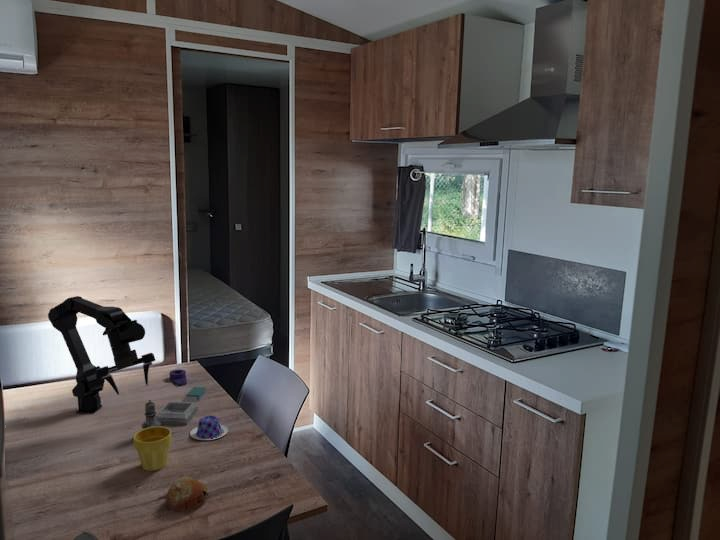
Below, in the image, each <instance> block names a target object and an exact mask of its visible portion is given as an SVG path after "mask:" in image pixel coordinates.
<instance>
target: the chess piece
mask: <svg viewBox="0 0 720 540" xmlns="http://www.w3.org/2000/svg"><path fill="white" fill-rule="evenodd" d="M144 407H145V409H144V410H145V413H144V416H145V421H144V422H143V423H142V424H141V429H145V428H149V427H156V426H160V427H161V424H162V423H160V422H159V421H156V417H157V416H156V415H157V412H156V405H155V402H152V401H151V399H149V400H148V402H147V403H145V406H144Z"/></svg>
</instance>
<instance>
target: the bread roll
mask: <svg viewBox="0 0 720 540" xmlns="http://www.w3.org/2000/svg"><path fill="white" fill-rule="evenodd" d="M165 495H166V496H165V503H166V506H167V508H168V509H170V510H171V511H173V512H187V511H191V510H195V509H197V508H199V507H201V506H202V505H203V504H204V503H205V502H206V500H207V498H208V496H209V493H208V486H206V484H205V483H203V482H201V481H200V480H198V479H195V478H192V477H190V476H182V477H179V478H178V479H176V480H175V481H174V482H173V483H172V484H171V487H169V488H168V490H167V493H166V494H165Z"/></svg>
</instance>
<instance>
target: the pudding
mask: <svg viewBox="0 0 720 540" xmlns="http://www.w3.org/2000/svg"><path fill="white" fill-rule="evenodd" d="M221 428H222V429H223V430H224V433H223V434H222V433H221V432H222V429H221ZM228 432H229V429H228V427H227V426H226V425H223V424H221V423H220V420H219V418H218V417H217V416H215V415H206V416H203V417H201V418H200V419H199V421H198V426H196V427H194V428H193V429H191V430H190V433H189V436H190V437H191V438H193V439H195V440H198V441H199V440H200V441H212V440H216V439H219V438H222V437H224V436H225V435H226V434H228ZM221 434H222V435H221ZM220 435H221V436H220ZM215 436H216V437H217V438H215ZM218 436H219V437H218ZM211 438H213V439H211Z"/></svg>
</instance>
